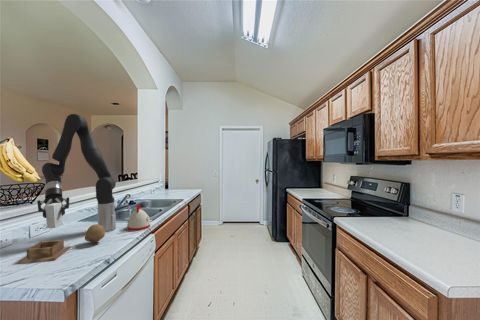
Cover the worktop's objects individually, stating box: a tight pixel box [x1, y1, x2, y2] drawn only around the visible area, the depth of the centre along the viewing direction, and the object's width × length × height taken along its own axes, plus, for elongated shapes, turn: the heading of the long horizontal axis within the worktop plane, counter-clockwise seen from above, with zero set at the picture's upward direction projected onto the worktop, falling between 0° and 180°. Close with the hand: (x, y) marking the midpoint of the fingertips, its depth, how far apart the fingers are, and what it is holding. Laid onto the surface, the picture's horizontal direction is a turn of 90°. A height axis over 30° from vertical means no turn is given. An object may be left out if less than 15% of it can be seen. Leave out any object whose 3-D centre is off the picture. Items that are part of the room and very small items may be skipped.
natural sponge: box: [84, 223, 106, 244], centre depth 126 cm, size 9×9×10 cm
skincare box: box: [44, 203, 63, 229], centre depth 124 cm, size 6×4×12 cm
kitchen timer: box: [126, 204, 151, 232], centre depth 153 cm, size 14×14×15 cm
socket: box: [17, 239, 71, 264], centre depth 110 cm, size 14×14×5 cm
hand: (54, 215), depth 123 cm, fingers closed on skincare box, 6 cm apart
